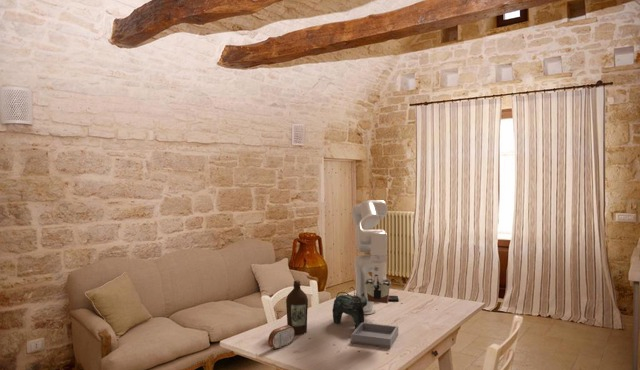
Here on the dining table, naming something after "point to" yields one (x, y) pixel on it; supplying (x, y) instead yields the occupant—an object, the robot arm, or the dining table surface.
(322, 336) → the dining table surface
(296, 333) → the olive oil
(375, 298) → the robot arm
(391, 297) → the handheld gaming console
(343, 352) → the dining table surface
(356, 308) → the teal animal figurine
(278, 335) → the tin
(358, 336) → the tray
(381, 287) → the food container
